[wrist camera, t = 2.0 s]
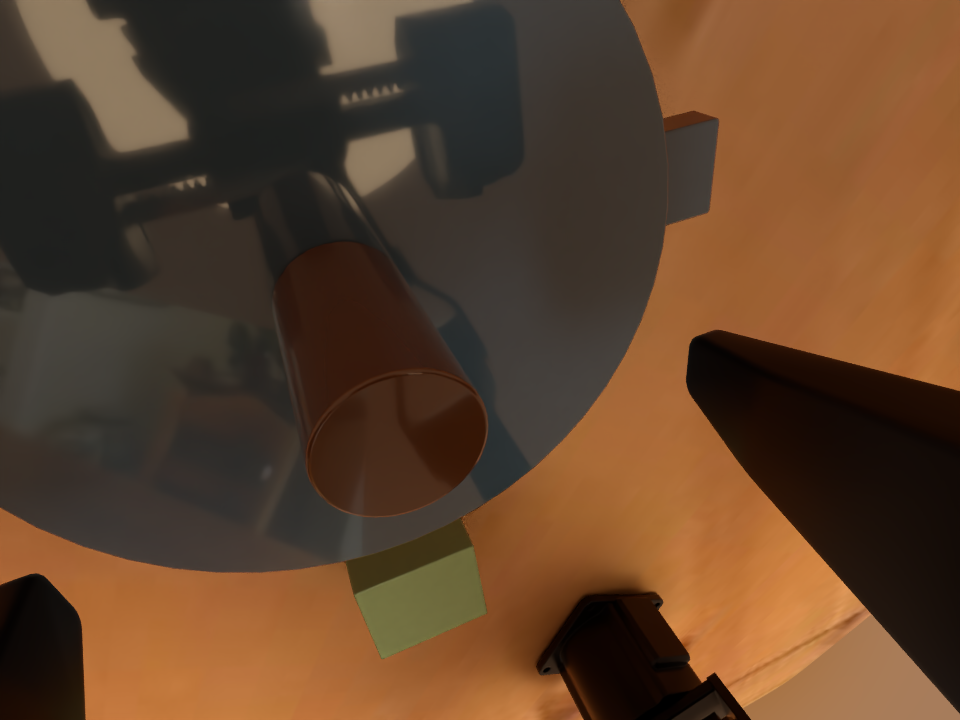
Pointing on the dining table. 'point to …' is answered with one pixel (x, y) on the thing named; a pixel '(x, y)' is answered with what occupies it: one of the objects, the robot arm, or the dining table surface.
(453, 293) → the lid
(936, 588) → the robot arm
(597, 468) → the dining table surface
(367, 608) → the block
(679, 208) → the pot
